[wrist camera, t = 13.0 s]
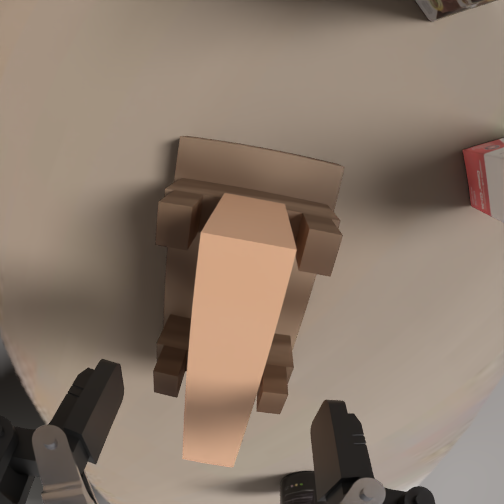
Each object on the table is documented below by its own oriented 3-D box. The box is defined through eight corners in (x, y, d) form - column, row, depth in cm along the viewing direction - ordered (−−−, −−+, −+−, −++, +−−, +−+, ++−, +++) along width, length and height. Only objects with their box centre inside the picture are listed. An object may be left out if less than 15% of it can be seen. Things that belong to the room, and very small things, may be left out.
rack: (186, 136, 19) (143, 141, 12) (338, 164, 19) (378, 185, 12) (167, 345, 25) (141, 410, 18) (282, 365, 25) (285, 435, 19)
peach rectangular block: (224, 192, 15) (200, 232, 9) (284, 203, 15) (296, 249, 10) (198, 390, 20) (182, 458, 15) (239, 397, 20) (233, 467, 15)
